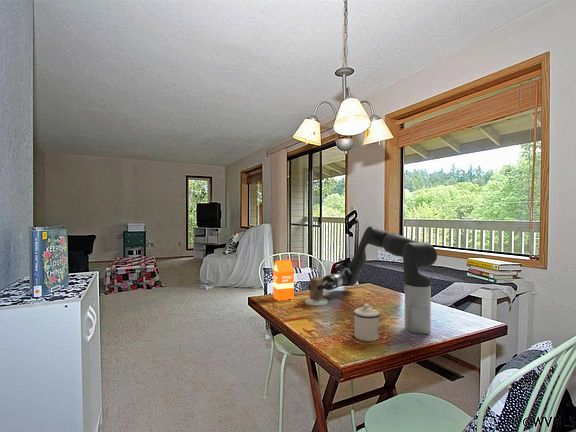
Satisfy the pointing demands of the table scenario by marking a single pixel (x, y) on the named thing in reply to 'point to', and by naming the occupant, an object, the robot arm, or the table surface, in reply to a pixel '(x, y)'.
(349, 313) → the table surface
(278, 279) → the orange juice
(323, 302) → the white plate
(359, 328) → the teacup with lid
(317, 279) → the walnut block
